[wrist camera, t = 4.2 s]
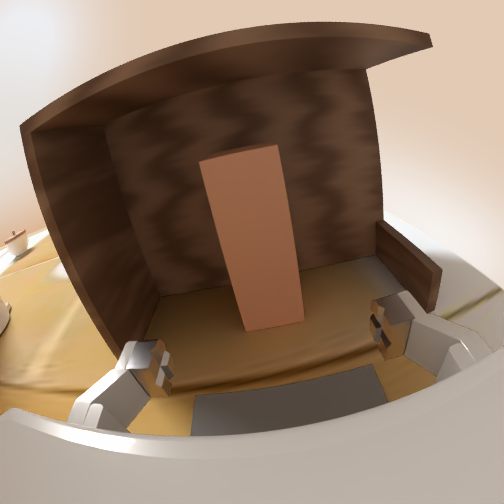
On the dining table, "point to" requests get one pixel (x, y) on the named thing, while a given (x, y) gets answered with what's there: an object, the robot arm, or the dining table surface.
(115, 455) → the robot arm
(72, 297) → the dining table surface
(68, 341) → the dining table surface
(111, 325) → the cubby
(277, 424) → the mat
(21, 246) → the lidded jar
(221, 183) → the block
